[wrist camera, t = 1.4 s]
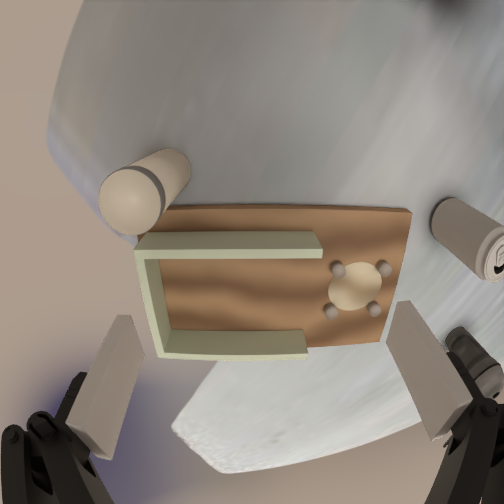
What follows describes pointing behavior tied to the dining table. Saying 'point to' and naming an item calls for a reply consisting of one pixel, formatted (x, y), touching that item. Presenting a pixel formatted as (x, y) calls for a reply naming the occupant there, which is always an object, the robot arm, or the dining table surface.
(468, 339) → the beverage cup
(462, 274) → the dining table surface
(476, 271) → the beverage can
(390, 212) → the board
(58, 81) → the dining table surface
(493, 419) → the robot arm
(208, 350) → the pale green open frame
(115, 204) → the beige rounded cylinder
